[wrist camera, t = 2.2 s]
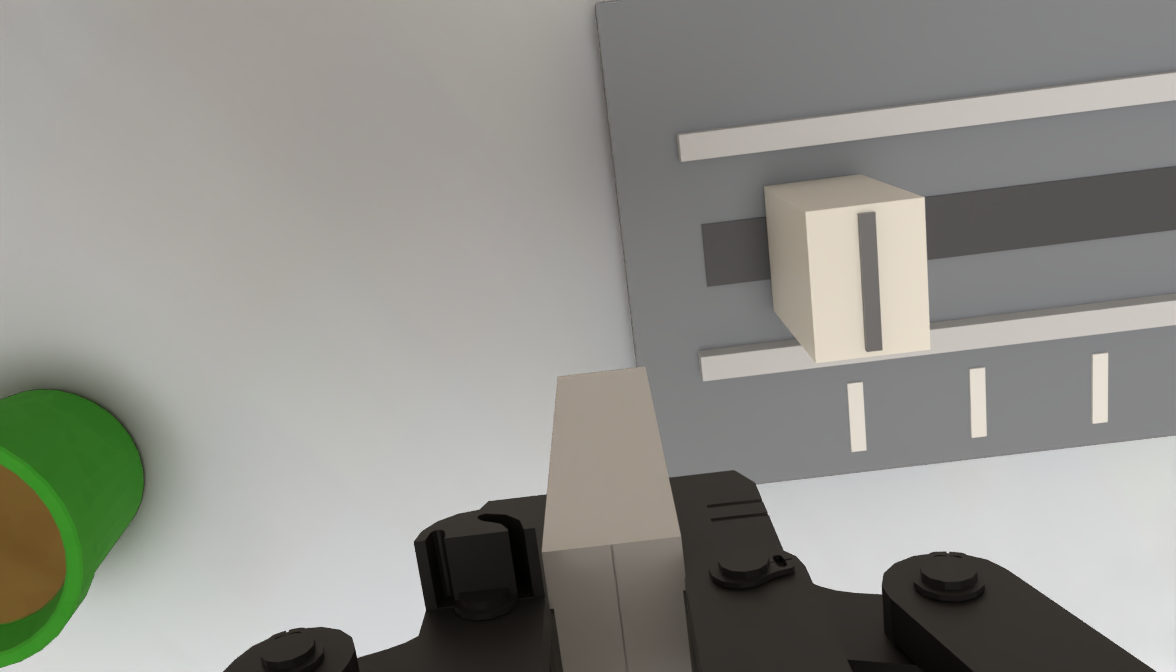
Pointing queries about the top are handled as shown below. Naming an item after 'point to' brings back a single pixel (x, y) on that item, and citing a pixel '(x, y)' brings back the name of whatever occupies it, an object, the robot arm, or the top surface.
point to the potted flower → (57, 510)
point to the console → (952, 212)
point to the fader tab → (849, 266)
